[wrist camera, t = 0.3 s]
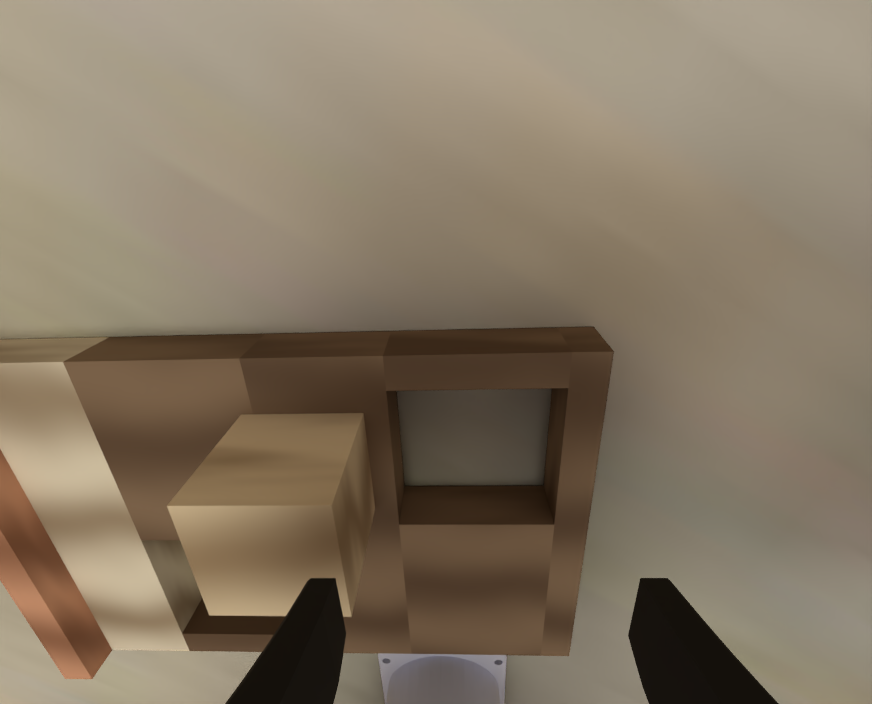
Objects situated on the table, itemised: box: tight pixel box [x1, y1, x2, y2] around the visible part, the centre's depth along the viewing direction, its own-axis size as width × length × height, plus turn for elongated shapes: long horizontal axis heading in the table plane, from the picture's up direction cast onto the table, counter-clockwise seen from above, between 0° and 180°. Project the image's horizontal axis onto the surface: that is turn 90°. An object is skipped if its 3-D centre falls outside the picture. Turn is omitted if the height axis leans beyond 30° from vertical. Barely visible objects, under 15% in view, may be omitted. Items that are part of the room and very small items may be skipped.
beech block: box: [167, 413, 375, 617], centre depth 16 cm, size 5×5×5 cm
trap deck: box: [0, 327, 614, 679], centre depth 21 cm, size 18×27×4 cm, turn 92°
